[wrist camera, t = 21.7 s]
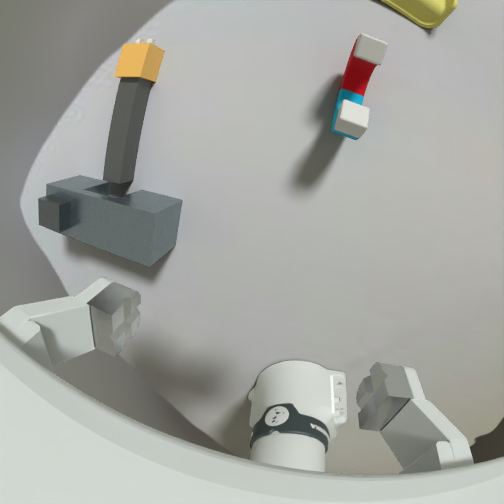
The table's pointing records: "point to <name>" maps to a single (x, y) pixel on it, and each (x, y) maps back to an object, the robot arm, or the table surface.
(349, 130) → the magnet
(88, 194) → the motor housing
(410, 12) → the plastic component
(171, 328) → the table surface
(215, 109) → the table surface
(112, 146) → the plug
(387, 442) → the robot arm
